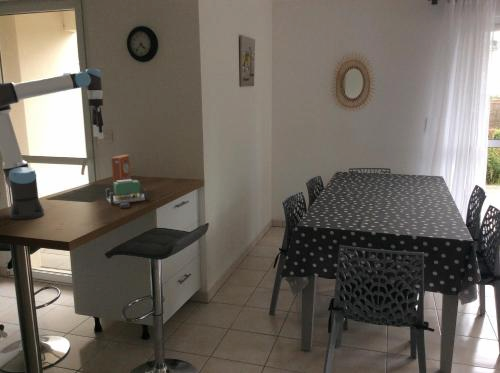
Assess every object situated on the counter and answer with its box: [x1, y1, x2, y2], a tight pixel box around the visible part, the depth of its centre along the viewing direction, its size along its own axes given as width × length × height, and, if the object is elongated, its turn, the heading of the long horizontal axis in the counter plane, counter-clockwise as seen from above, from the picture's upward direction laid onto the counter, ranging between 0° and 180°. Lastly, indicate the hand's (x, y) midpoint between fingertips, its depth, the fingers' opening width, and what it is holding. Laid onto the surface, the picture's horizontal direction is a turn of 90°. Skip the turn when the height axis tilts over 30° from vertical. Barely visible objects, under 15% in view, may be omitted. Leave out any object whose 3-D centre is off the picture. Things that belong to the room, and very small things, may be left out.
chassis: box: [105, 184, 149, 205], centre depth 257 cm, size 20×13×6 cm, turn 118°
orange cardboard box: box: [111, 154, 132, 183], centre depth 278 cm, size 21×7×15 cm
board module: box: [112, 178, 141, 196], centre depth 257 cm, size 13×7×7 cm, turn 117°
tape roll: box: [119, 202, 131, 210], centre depth 241 cm, size 5×5×2 cm
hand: (98, 137), depth 254 cm, fingers open, 13 cm apart
